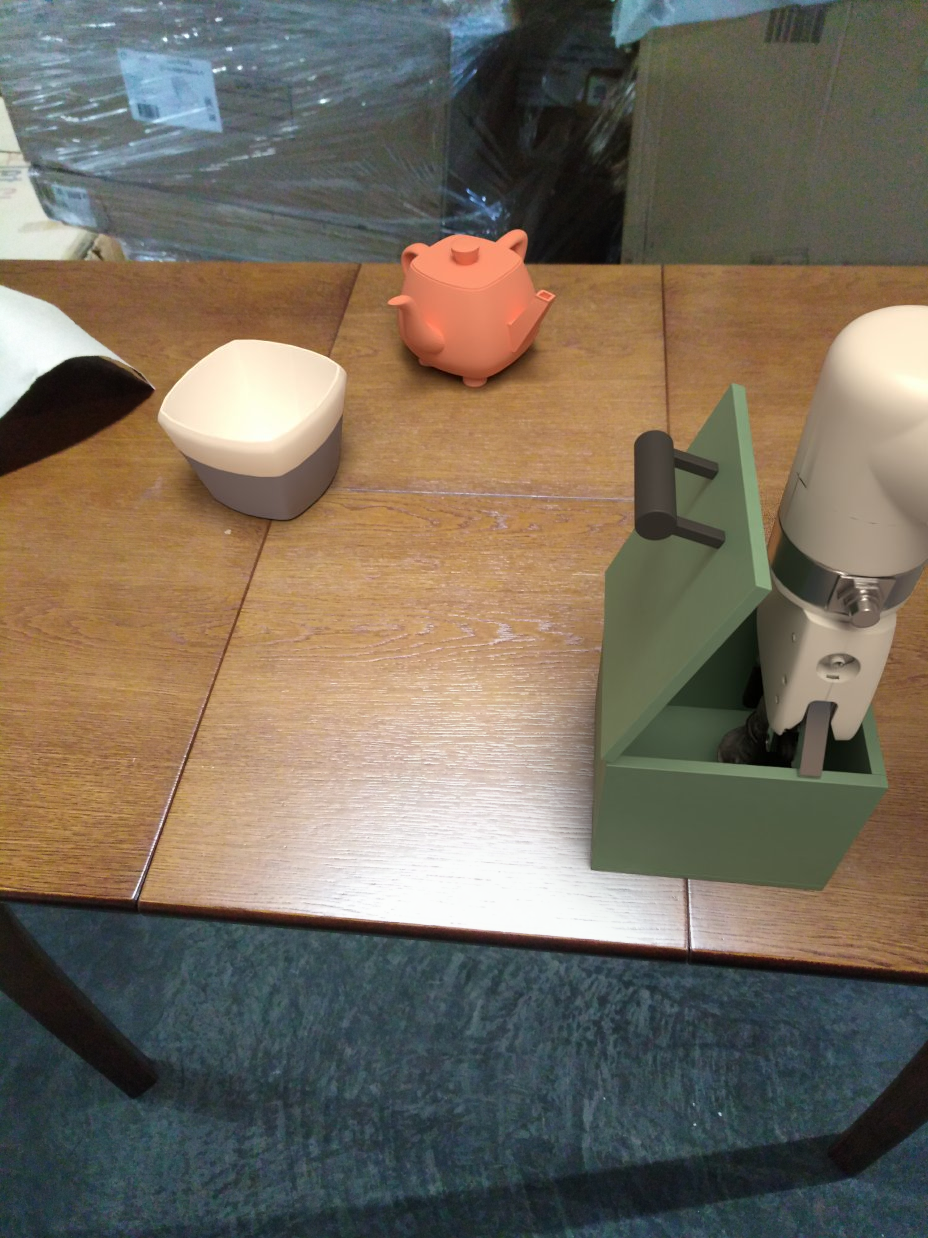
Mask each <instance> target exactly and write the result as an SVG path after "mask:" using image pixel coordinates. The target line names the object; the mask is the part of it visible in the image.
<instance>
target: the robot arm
mask: <svg viewBox="0 0 928 1238" xmlns="http://www.w3.org/2000/svg"><path fill="white" fill-rule="evenodd" d="M803 425H804V426H803V429H802V432H801V435H800V438H799V441H798V445H797V448H796V451H795V455H794V459H793V461H792V464H791V467H790V471H789V474H788V478H787V480H786V484H785V487H784V490H783V494H782V495H781V500H780V502H779V506H778V509H777V512H776V515H775V519H774V522H773V525H772V529H771V531H770V535H769V538H768V542H767V544H766V548H767V556H768V563H769V571H770V578H771V585H772V591H771V592H770V593H769V594H768V595H767V596H766V597H765V598H764V599H763V601H762V602H761V603H760V604H759V605H758V608H757V634H758V645H759V647H758V649H757V653H756V663H757V665H761V667H757V666H753V667H752V670H751V673H750V676H749V679H748V682H747V685H746V688H745V691H744V694H743V697H742V700H743V705H744V706H745V707H746V708H751V709H757V707H758V704H759V701H760V699H761V697H762V696H763V694H764V697H765V705H766V712H767V718H768V722H769V727H768V731H767V733H763V734H760V736H759V739H758V742H757V744H756V747H755V749H754V752H753V754H752V757H751V760H750V762H749V765H755V766H768V767H781V768H794V769H797V775H798V777H806V778H821V775H822V769H823V762H824V755H825V748H826V741H827V734H828V727H829V720H830V722H831V726H832V730H833V734H834V738H835V740H850V739H851V738H852V737H853V736H854V735H855V734H856V732H857V730H858V729H859V727H860V725H861V723H862V721H863V718H864V716H865V714H866V712H867V710H868V707H869V705H870V703H871V702H872V701H873V698H874V696H875V693H876V691H877V689H878V686H879V683H880V682H881V678H882V676H883V672H884V670H885V667H886V664H887V662H888V658H889V655H890V652H891V647H892V644H893V640H894V636H895V632H896V626H897V622H898V621H897V614H898V613H897V611H898V610H900V609H901V608H903V606H904V605H905V604H906V603H907V602H908V600H909V599H910V598H911V595H912V593H913V591H914V589H915V587H916V585H917V584H918V582H919V579H920V577H922V574H923V572H924V570H925V568H926V567H927V564H928V305H923V304H920V305H919V304H905V305H904V304H902V305H892V306H887V307H882V308H879V309H875V310H872V311H869V312H867V313H864V314H862V315H860V316H858V317H857V318H855V319H853V320H852V321H851V322H849V323H848V324H847V325H846V326H844V327H843V329H842V330H840V332H839V333H838V334H837V335H836V337H835V338H834V340H833V342H832V343H831V344H830V346H829V348H828V350H827V353H826V356H825V358H824V361H823V364H822V366H821V369H820V372H819V375H818V379H817V382H816V385H815V389H814V393H813V396H812V399H811V402H810V405H809V408H808V412H807V416H806V419H805V422H804V424H803ZM830 717H831V719H830ZM794 726H800V729H799V732H789V731H786V729H791V728H792V727H794Z"/></svg>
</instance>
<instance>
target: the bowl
mask: <svg viewBox="0 0 928 1238" xmlns="http://www.w3.org/2000/svg"><path fill="white" fill-rule="evenodd" d="M347 377H348V374H347V372H346V370H345V369H344V368H343V367H342V366H341V365H340V364H339V363H337V362H335V361H334V360H333V359H331V358H329V357H328V356H325V355H323V354H320V353H318V352H316V351H313V350H310V349H306V348H303V347H299V346H296V345H293V344H287V343H281V342H276V341H271V340H260V339H234V340H231V341H230V342H227V343H225V344H224V345H221V346H219V347H218V348H216V349H215V350H213V351H211V352H210V353H209V354H207V355H206V356H205V357H203V358H202V359H200V360H199V361H198V362H197V363H196V364H195V365H194V366H192V367H191V368H190V369H188V370H187V371H186V372H185V373H184V374H183V375H182V377H180V378H179V380H178V381H177V382H176V383H175V384H173V386H172V388H171V389H170V390H169V391H168V393H167V394H166V396H165V397H164V398H163V401H162V403H161V406H160V408H159V411H158V413H157V422H158V424H159V425H160V427H161V428H162V429H163V431H164V432H165V434H166V435H167V436H168V438H169V439H170V441H171V442H172V443H173V444H174V446H175V447H176V448H177V449H178V450H179V453H181V455H182V456H183V458H184V459H185V460H186V462H187V463H188V464H189V465H190V467H191V468H192V470H193V471H194V473H195V474H196V475H197V476H198V478H199V479H200V481H201V482H202V483H203V485H204V486H205V488H206V489H207V491H208V492H209V493H210V495H211V496H212V497H213V498H214V500H216V501H217V502H219V503H221V504H223V505H225V506H226V507H228V508H230V509H232V510H234V511H237V512H239V513H242V514H243V515H248V516H253V517H256V518H261V519H262V518H263V519H270V520H277V521H279V520H280V521H281V520H282V521H284V520H285V521H286V520H287V521H288V520H292V519H295V518H296V517H298V516H299V515H301V514H302V513H303V512H305V511H306V510H307V509H308V508H309V507H311V506H312V505H313V504H314V503H315V502H316V501H317V500H318V499H320V497H321V496H322V495H323V494H324V493H325V492H326V490H327V489H328V487H329V486H330V485H331V483H332V481H333V479H334V478H335V475H336V473H337V472H338V469H339V465H340V464H339V463H340V454H341V442H342V430H343V420H344V408H345V402H346V401H345V400H346V389H347Z"/></svg>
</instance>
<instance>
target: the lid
mask: <svg viewBox="0 0 928 1238" xmlns="http://www.w3.org/2000/svg"><path fill="white" fill-rule="evenodd" d="M674 445H675V444H674V440H673V438H672V436H671V435H669V433H667V432H665V431H663V430H659V429H651V430H647V431H645V432H642V433H641V434H640V435H638V436H637V437H636V439H635V441H634V443H633V483H634V484H633V500H634V501H633V505H634V507H633V508H634V509H633V510H634V511H633V515H634V516H633V520H634V521H633V522H634V525H633V526H634V528H633V530H632V531H631V533H630V534H629V536H628V537H627V538H626V540H625V541H624V543H623V544H622V545H621V548H620V549H619V551H618V552H617V554H616V555H615V556H614V557H613V559H612V560H611V563H610V564H609V565H608V567H607V568H606V569H605V571H604V599H603V600H604V602H603V603H604V604H603V631H604V639H603V638H602V640H603V681H602V723H601V760H605V761H608V762H614V761H615V760H616V759H617V758H618V757H619V755H620V754H621V753H622V752H623V751H624V750H625V749H626V748H627V747H628V746H629V745H630V744H631V742H632V741H633V740H634V739H635V738H636V737H637V736H638V735H639V734H640V733H641V732H642V731H643V729H644V728H645V727H646V726H647V725H648V724H649V723H650V722H651V721H652V720H653V719H654V718H655V716H656V715H657V714H658V713H659V712H660V711H661V710H662V709H663V708H664V707H665V706H666V705H667V703H668V702H669V701H670V700H671V699H672V698H673V697H674V696H675V695H676V694H677V693H678V692H679V690H680V689H681V688H682V687H683V686H684V685H685V684H686V683H687V682H688V681H689V680H690V679H691V677H692V676H693V675H694V674H695V673H696V672H697V671H698V670H699V669H700V668H701V667H702V666H703V664H704V663H705V662H706V661H707V660H708V659H709V658H710V657H711V656H712V655H713V654H714V653H715V651H716V650H717V649H718V648H719V647H720V646H721V645H722V644H723V643H724V642H725V641H726V640H727V638H728V637H729V636H730V635H731V634H732V633H733V632H734V631H735V630H736V629H737V628H738V627H739V625H740V624H741V623H742V622H743V621H744V620H745V619H746V618H747V617H748V616H749V615H750V614H751V612H752V611H753V610H754V609H755V608H756V607H757V606H758V605H759V604H760V603H761V602H762V601H763V599H764V598H765V597H766V596H767V595H768V594H769V593H770V592H771V591H772V585H771V578H770V571H769V563H768V556H767V540H766V533H765V527H764V519H763V512H762V505H761V496H760V489H759V482H758V475H757V467H756V460H755V452H754V444H753V437H752V430H751V422H750V415H749V408H748V399H747V392H746V387H745V386H744V385H741V384H737V383H735V382H732V383H730V384H729V386H728V388H727V389H726V390H725V392H724V394H723V395H722V397H721V398H720V400H719V401H718V403H717V404H716V406H715V407H714V408H713V410H712V412H711V413H710V414H709V416H708V417H707V419H706V420H705V422H704V424H703V426H702V427H701V428H700V429H699V431H698V432H697V433H696V436H695V437H694V439H693V440H692V442H691V443H690V444H689V446H688V448H687V449H686V450H685V451H683V450H681V449H678V448H675V446H674Z"/></svg>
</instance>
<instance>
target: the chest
mask: <svg viewBox="0 0 928 1238" xmlns="http://www.w3.org/2000/svg"><path fill="white" fill-rule="evenodd" d="M757 608H758V606H757V607H756V608H755V609H754V610H753V611H752V612H751V614H750V615H749V616H748V617H747V618H746V619H745V620H744V621H743V622H742V623H741V624H740V625H739V627H738V628H737V629H736V630H735V631H734V632H733V633H732V634H731V635H730V636H729V637H728V638H727V640H726V641H725V642H724V643H723V644H722V645H721V646H720V647H719V648H718V649H717V650H716V651H715V653H714V654H713V655H712V656H711V657H710V658H709V659H708V660H707V661H706V662H705V663H704V664H703V666H702V667H701V668H700V669H699V670H698V671H697V672H696V673H695V674H694V675H693V676H692V677H691V679H690V680H689V681H688V682H687V683H686V684H685V685H684V686H683V687H682V688H681V689H680V690H679V692H678V693H677V694H676V695H675V696H674V697H673V698H672V699H671V700H670V701H669V702H668V703H667V705H666V706H665V707H664V708H663V709H662V710H661V711H660V712H659V713H658V714H657V715H656V716H655V718H654V719H653V720H652V721H651V722H650V723H649V724H648V725H647V726H646V727H645V728H644V729H643V731H642V732H641V733H640V734H639V735H638V736H637V737H636V738H635V739H634V740H633V741H632V742H631V744H630V745H629V746H628V747H627V748H626V749H625V750H624V751H623V752H622V753H621V754H620V755H619V757H618V758H617V759H616V760H615V761H614V762H608V761H605V760H601V723H602V681H603V639H604V630H603V631H602V640H601V649H600V658H599V665H598V674H597V682H596V683H597V685H596V693H595V706H594V707H595V708H594V709H595V711H594V712H595V713H594V744H593V745H594V746H593V778H592V779H593V781H592V809H591V810H592V812H591V813H592V814H591V843H590V844H591V846H590V849H591V850H590V870H591V871H598V872H610V873H621V874H632V875H643V876H652V877H653V876H655V877H664V878H665V877H666V878H675V879H685V880H699V881H709V882H710V881H711V882H720V883H729V884H730V883H731V884H741V885H742V884H743V885H753V886H764V887H774V888H775V887H776V888H786V889H795V890H796V889H797V890H809V891H818V892H819V891H821V892H822V891H823V890H824V889H825V886H827V884H828V883H829V881H830V879H831V878H832V876H833V875H834V874H835V872H836V870H837V869H838V867H839V866H840V864H841V863H842V861H843V859H844V857H845V856H846V855H847V853H848V851H849V850H850V848H851V847H852V846H853V844H854V842H855V840H857V838H858V836H859V834H860V833H861V831H862V830H863V829H864V827H865V825H866V824H867V822H868V821H869V819H870V817H871V815H872V814H873V813H874V811H875V810H876V808H877V807H878V805H879V803H880V802H881V801H882V799H883V798H884V797H885V794H886V793H887V791H888V790H889V787H890V786H889V781H888V776H887V770H886V767H885V766H886V765H885V761H884V756H883V750H882V747H881V742H880V737H879V731H878V728H877V722H876V718H875V713H874V707H873V703H872V701H871V703H870V705H869V707H868V710H867V712H866V714H865V716H864V718H863V721H862V723H861V725H860V727H859V729H858V730H857V732H856V734H855V735H854V736H853V737H852V738H851V739H850V740H835V738H834V734H833V730H832V726H831V722H830V720H829V727H828V734H827V741H826V748H825V755H824V762H823V769H822V775H821V778H806V777H798V775H797V769H794V768H781V767H768V766H755V765H742V764H729V763H718V762H717V751H718V747H719V744H720V742H721V740H722V739H723V738H724V736H725V735H726V734H728V733H729V732H730V731H731V730H733V729H736V728H738V727H741V726H745V723H746V719H747V718H748V716H749V715H750V714H751V713H753V712H754V711H756V709H751V708H746V707H745V706H744V705H743V700H742V697H743V694H744V691H745V688H746V685H747V682H748V679H749V676H750V673H751V670H752V667H753V666H757V667H761V665H757V663H756V653H757V649H758V647H759V645H758V634H757ZM830 719H831V717H830ZM798 728H799V729H800V726H799V727H798Z"/></svg>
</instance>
